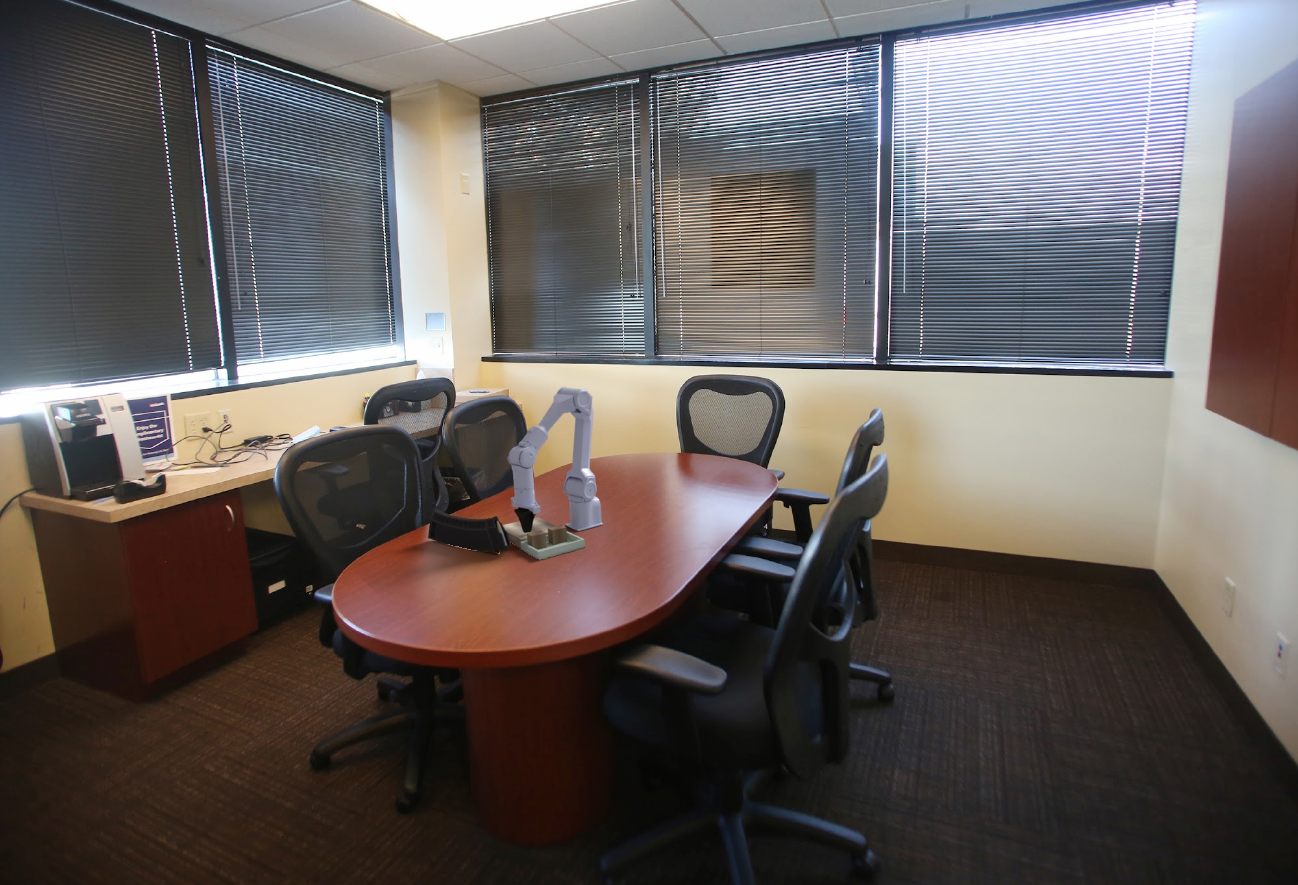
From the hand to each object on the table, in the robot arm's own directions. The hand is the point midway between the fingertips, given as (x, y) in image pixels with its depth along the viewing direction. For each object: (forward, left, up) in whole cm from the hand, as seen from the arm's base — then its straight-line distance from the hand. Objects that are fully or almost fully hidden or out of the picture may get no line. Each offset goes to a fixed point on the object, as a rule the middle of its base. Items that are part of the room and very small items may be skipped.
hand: (527, 531), depth 209 cm
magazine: (+15, -9, -4) cm, 18 cm away
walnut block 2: (-7, +4, -1) cm, 8 cm away
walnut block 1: (0, +4, -1) cm, 5 cm away
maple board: (-4, -6, -4) cm, 8 cm away
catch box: (-4, +8, -4) cm, 10 cm away
